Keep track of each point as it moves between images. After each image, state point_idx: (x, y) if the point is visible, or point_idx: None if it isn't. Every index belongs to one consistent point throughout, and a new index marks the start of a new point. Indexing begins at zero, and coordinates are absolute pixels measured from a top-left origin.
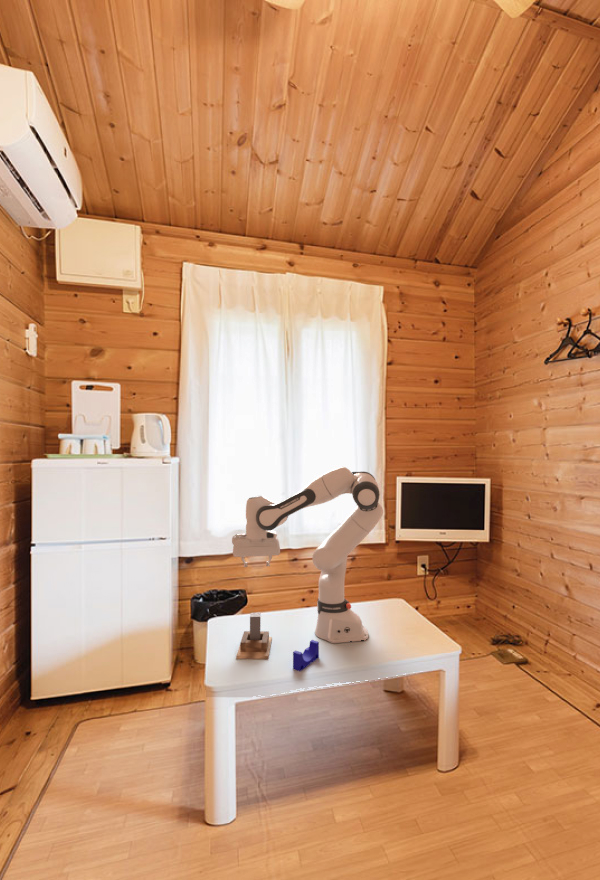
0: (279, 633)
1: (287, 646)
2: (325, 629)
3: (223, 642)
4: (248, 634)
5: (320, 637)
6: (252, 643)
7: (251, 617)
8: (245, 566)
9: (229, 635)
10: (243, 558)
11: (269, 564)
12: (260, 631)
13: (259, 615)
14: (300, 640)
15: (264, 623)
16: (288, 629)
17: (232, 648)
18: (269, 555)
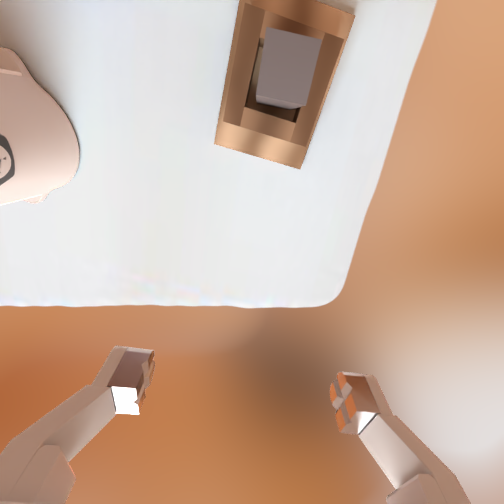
0: (188, 180)
1: (170, 73)
2: (10, 86)
3: (356, 162)
4: (295, 123)
5: (56, 104)
6: (299, 24)
7: (313, 39)
8: (361, 376)
9: (328, 203)
10: (432, 484)
11: (109, 357)
12: (252, 129)
13: (268, 47)
14: (125, 110)
15: (223, 251)
16: (161, 199)
17: (343, 110)
18: (19, 500)
